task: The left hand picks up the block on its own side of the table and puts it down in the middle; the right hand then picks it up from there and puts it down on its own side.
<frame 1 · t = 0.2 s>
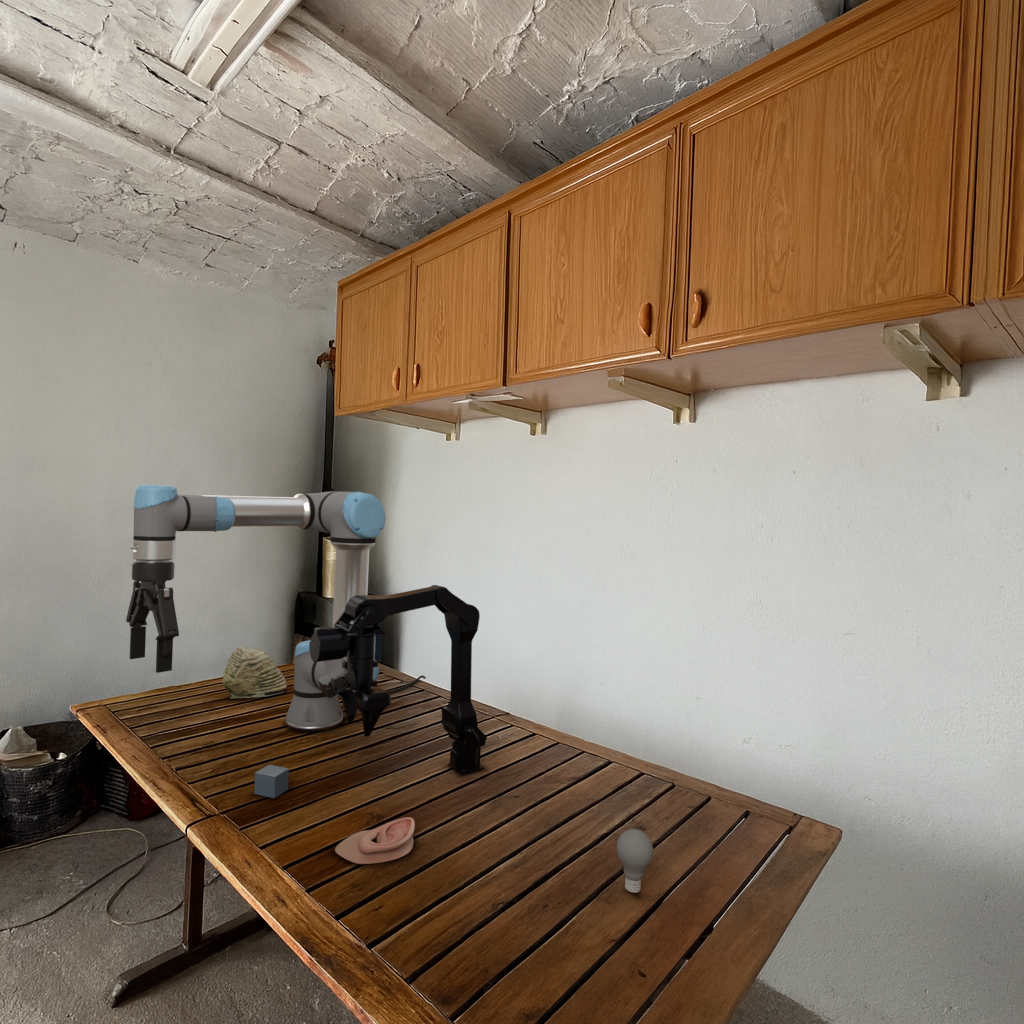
left hand: (150, 664, 129), 28 cm above the table, tool pointing down, fingers open, 13 cm apart
right hand: (358, 729, 134), 14 cm above the table, tool pointing down, fingers open, 9 cm apart
fossil: (254, 694, 198), on the table
light bulb: (632, 891, 106), on the table
block: (271, 791, 135), on the table
anatomical model: (375, 848, 115), on the table
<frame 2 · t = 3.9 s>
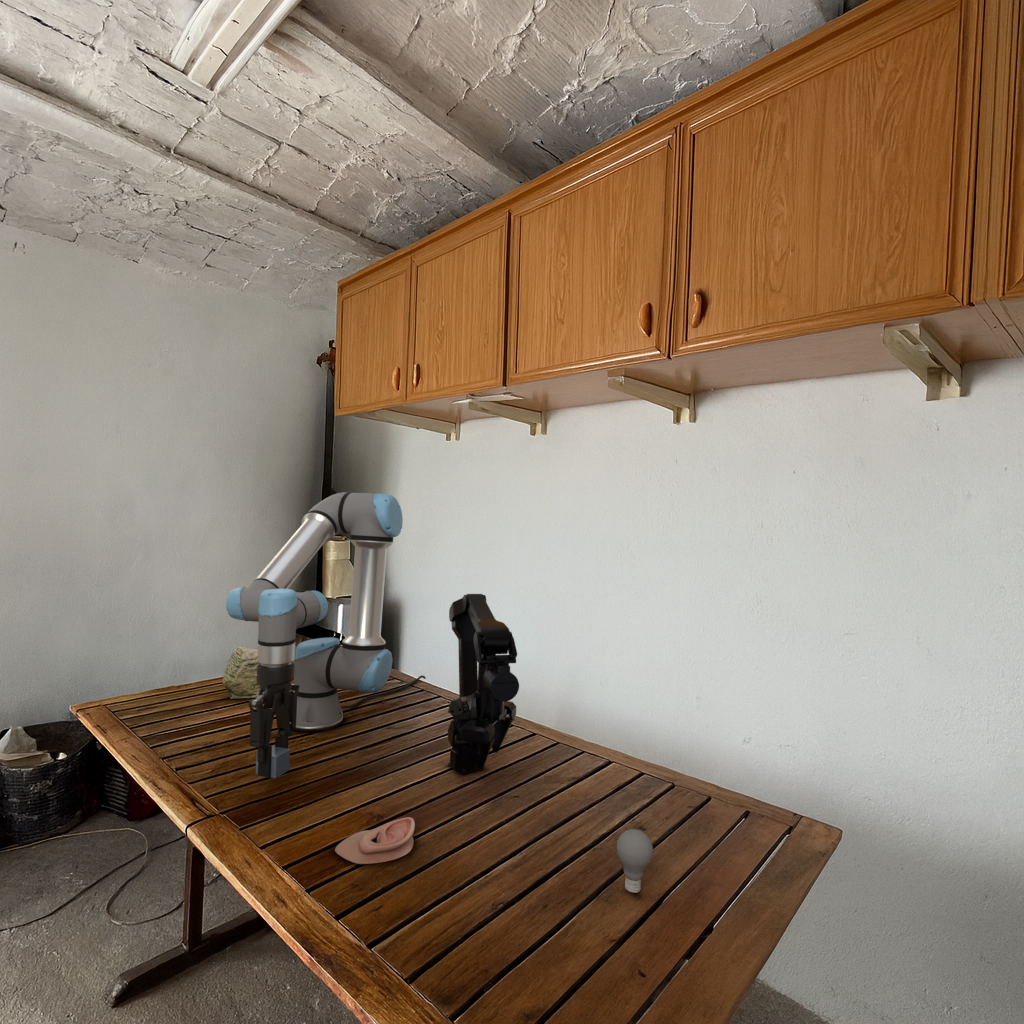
left hand: (272, 770, 135), 4 cm above the table, tool pointing down, fingers closed on block, 4 cm apart
right hand: (487, 760, 132), 10 cm above the table, tool pointing down, fingers open, 9 cm apart
block: (272, 772, 135), point 4 cm above the table, touching left hand
everything else where it was.
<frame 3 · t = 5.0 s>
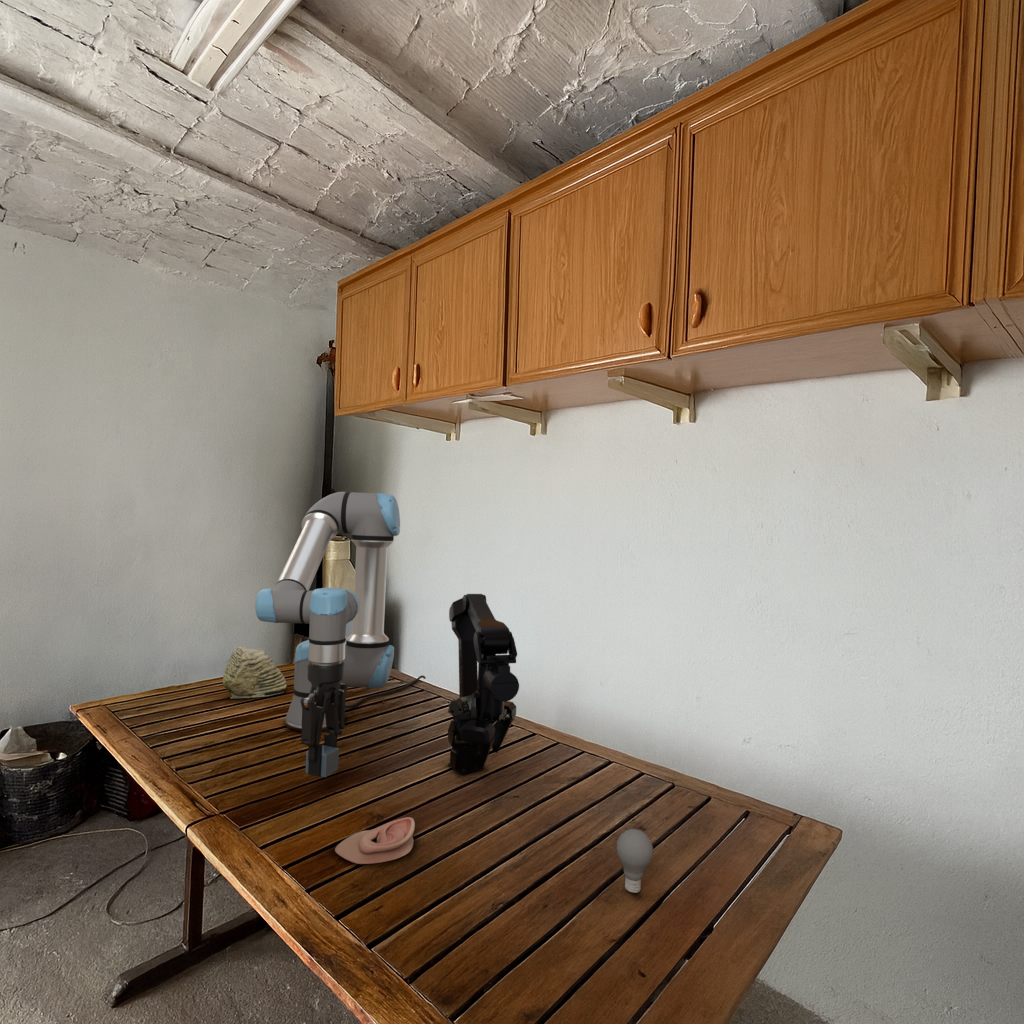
left hand: (322, 769, 135), 5 cm above the table, tool pointing down, fingers closed on block, 4 cm apart
right hand: (487, 760, 132), 10 cm above the table, tool pointing down, fingers open, 9 cm apart
block: (321, 771, 135), point 5 cm above the table, touching left hand
everything else where it was.
when the left hand's fingers open (1 cm above the table, at t = 6.6 s): block stays where it is, on the table.
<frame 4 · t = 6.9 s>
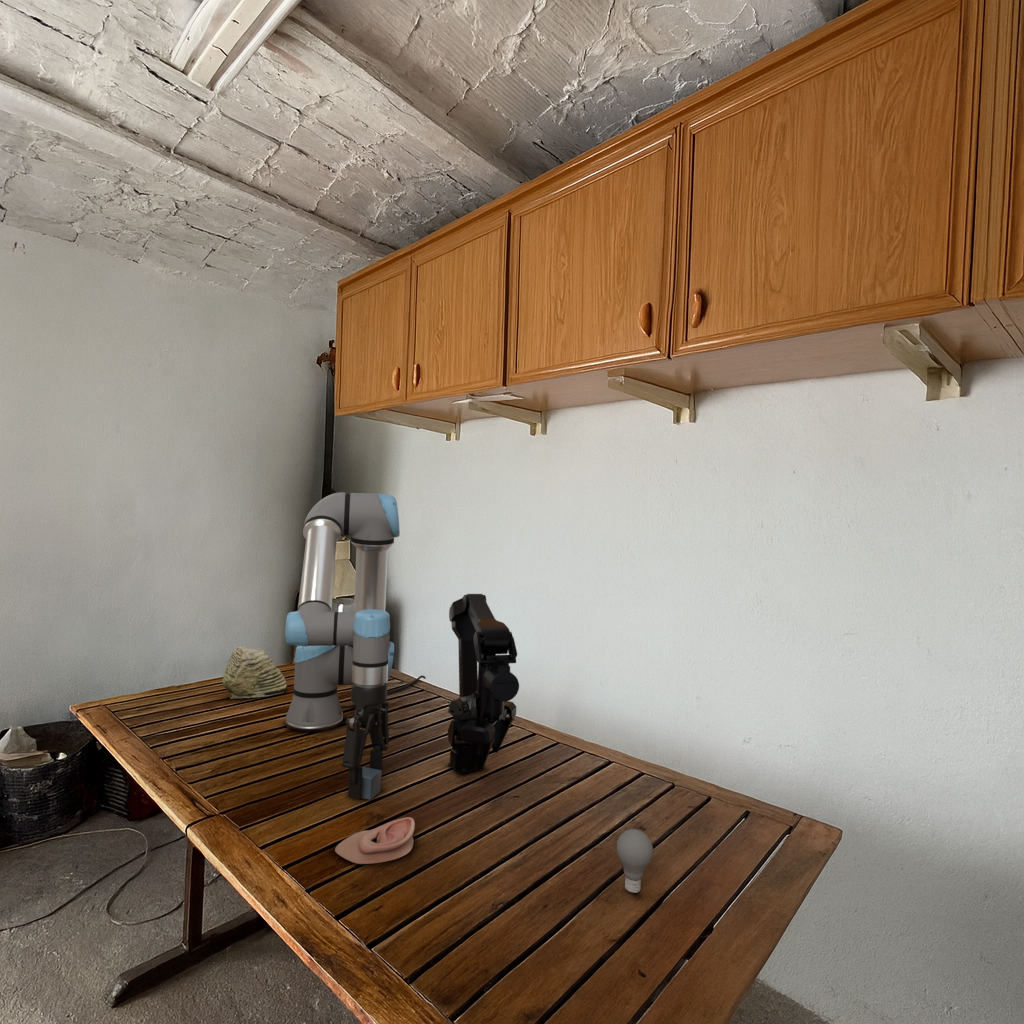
left hand: (365, 788, 136), 1 cm above the table, tool pointing down, fingers open, 8 cm apart
right hand: (487, 760, 132), 10 cm above the table, tool pointing down, fingers open, 9 cm apart
block: (365, 793, 136), on the table
everything else where it was.
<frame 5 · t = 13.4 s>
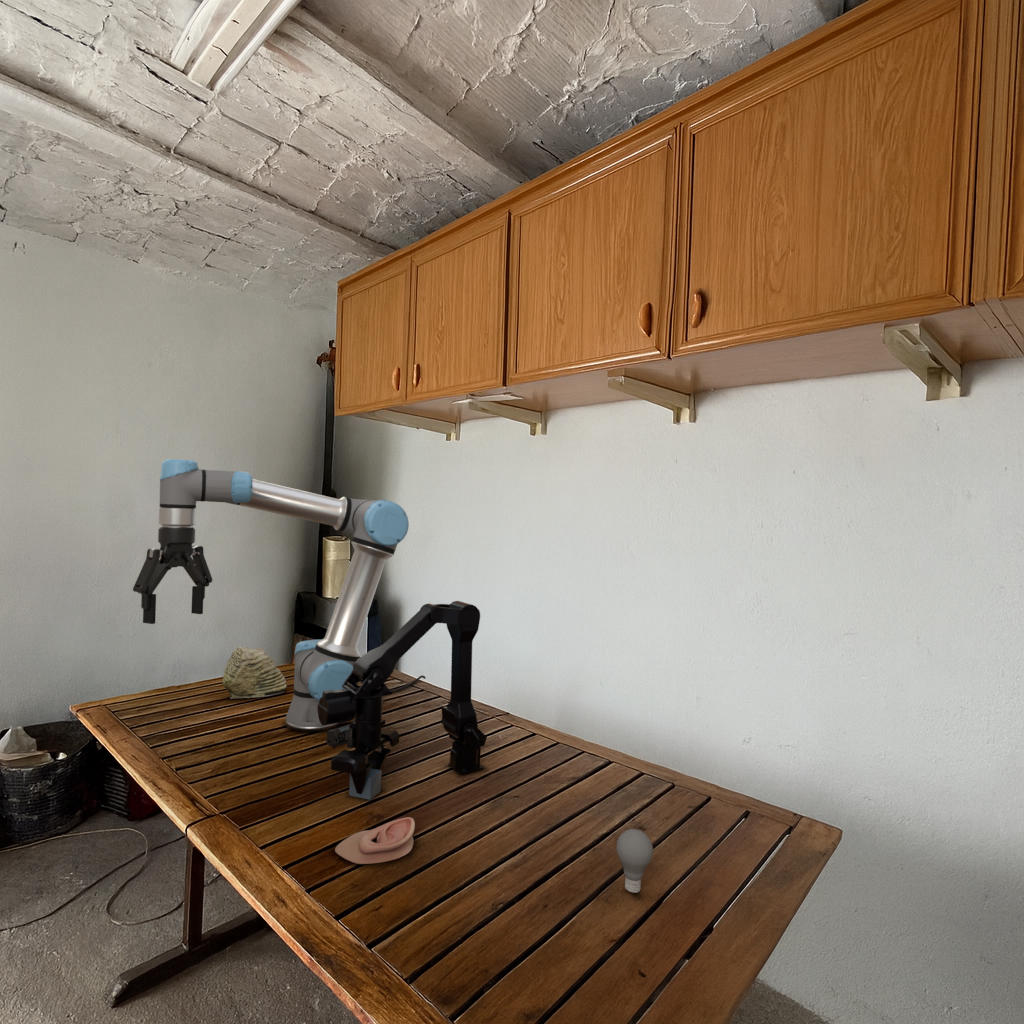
left hand: (174, 618, 146), 34 cm above the table, tool pointing down, fingers open, 13 cm apart
right hand: (365, 788, 136), 1 cm above the table, tool pointing down, fingers closed on block, 4 cm apart
block: (365, 793, 136), on the table, touching right hand
everything else where it was.
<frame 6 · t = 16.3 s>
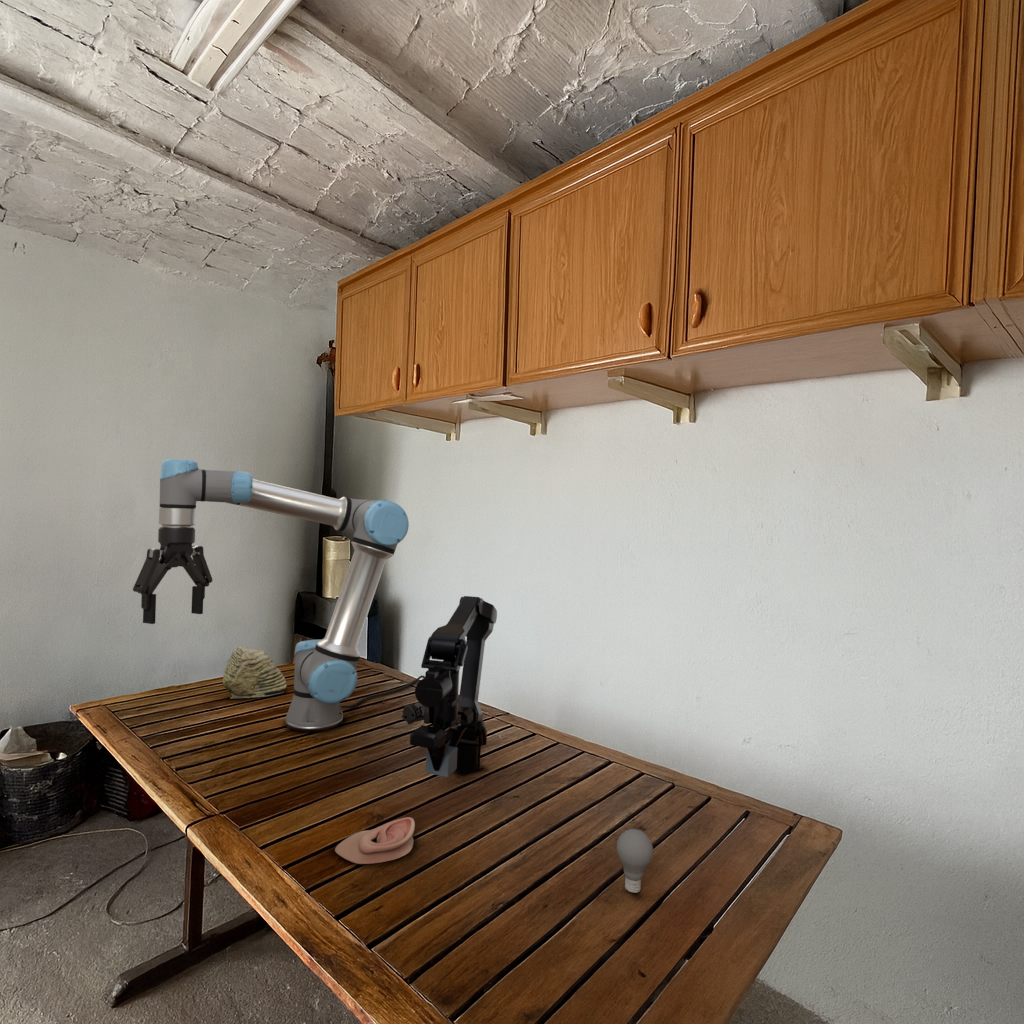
left hand: (174, 618, 146), 34 cm above the table, tool pointing down, fingers open, 13 cm apart
right hand: (441, 766, 133), 8 cm above the table, tool pointing down, fingers closed on block, 4 cm apart
block: (441, 770, 133), point 7 cm above the table, touching right hand
everything else where it was.
when the right hand's fingers open (2 cm above the table, at t = 19.2 s): block stays where it is, on the table.
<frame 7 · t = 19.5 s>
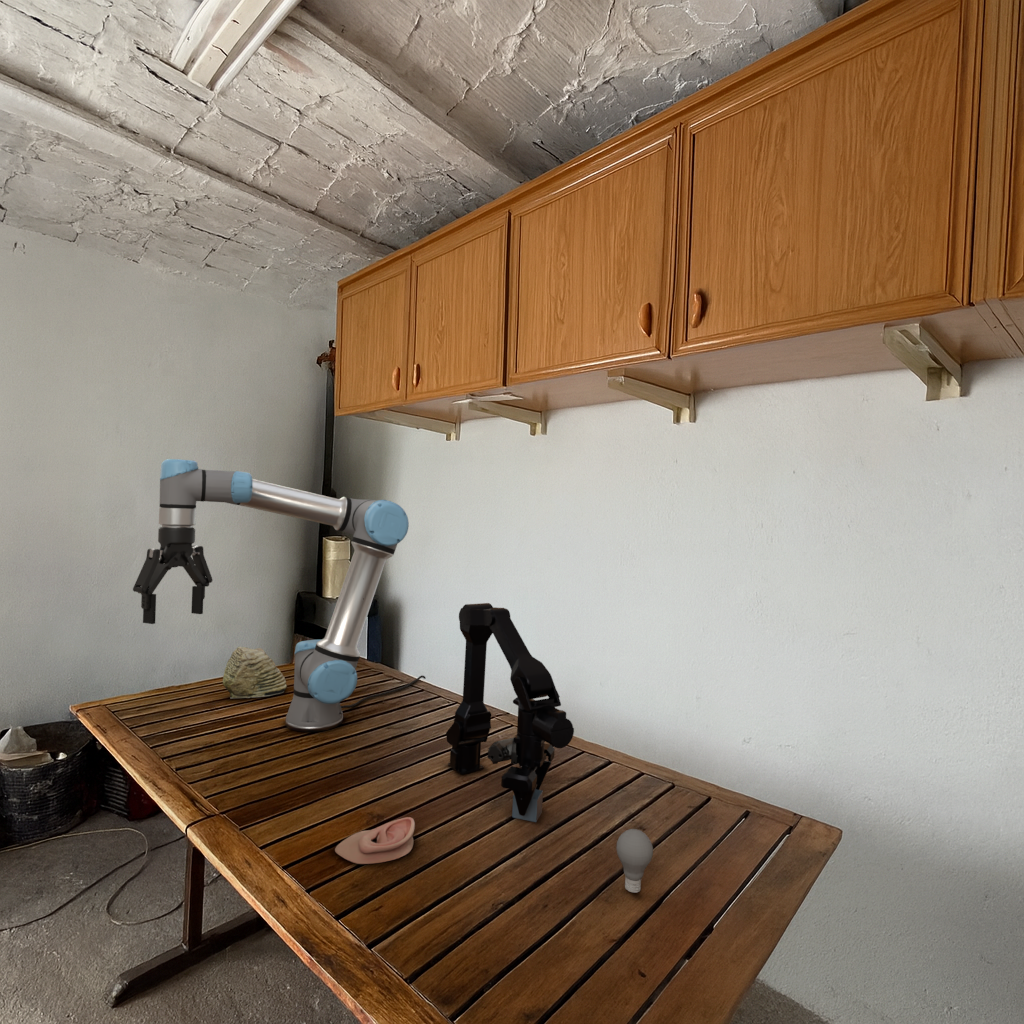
left hand: (174, 618, 146), 34 cm above the table, tool pointing down, fingers open, 13 cm apart
right hand: (527, 806, 130), 2 cm above the table, tool pointing down, fingers open, 7 cm apart
block: (527, 814, 130), on the table
everything else where it was.
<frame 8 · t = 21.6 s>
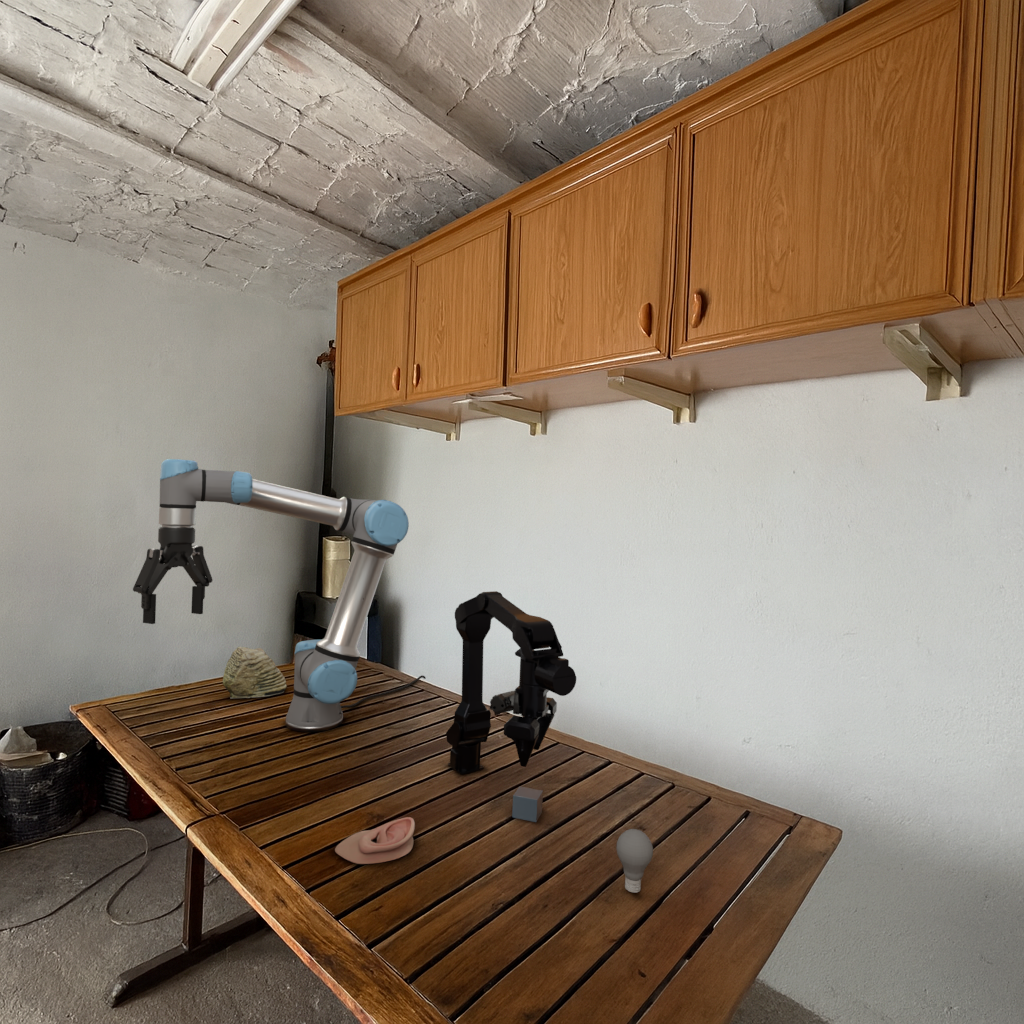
left hand: (174, 618, 146), 34 cm above the table, tool pointing down, fingers open, 13 cm apart
right hand: (529, 757, 130), 12 cm above the table, tool pointing down, fingers open, 9 cm apart
nothing on the table moved.
at the end: block inside the target area (0.1 cm from its centre), on the table; block tilted 0°; the two hands never held the block at the same time; the left hand is holding nothing; the right hand is holding nothing; block at rest at the end (0.0 cm/s) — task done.
